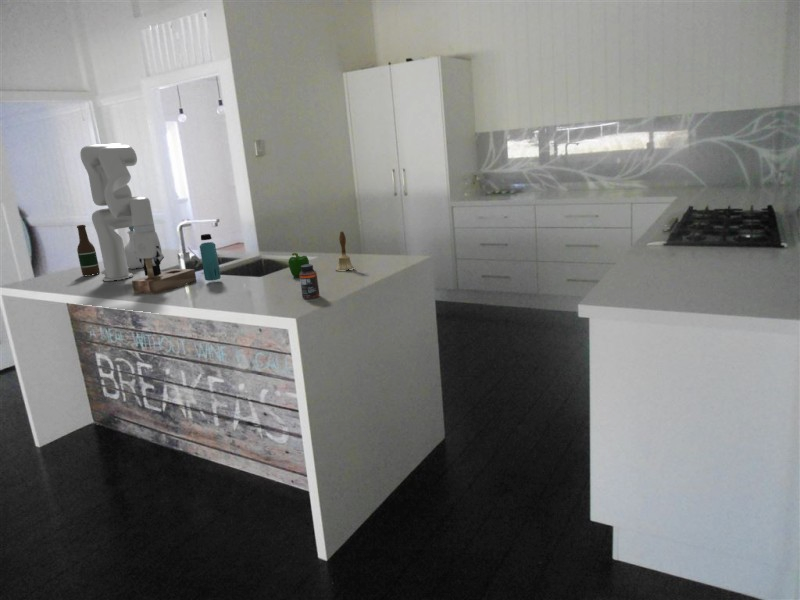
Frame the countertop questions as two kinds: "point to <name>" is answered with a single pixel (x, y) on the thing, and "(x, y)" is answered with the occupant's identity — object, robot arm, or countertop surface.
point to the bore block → (164, 281)
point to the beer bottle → (86, 253)
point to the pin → (150, 269)
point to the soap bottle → (131, 251)
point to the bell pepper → (297, 264)
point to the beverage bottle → (209, 259)
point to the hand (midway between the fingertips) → (153, 274)
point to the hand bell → (344, 255)
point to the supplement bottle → (309, 282)
